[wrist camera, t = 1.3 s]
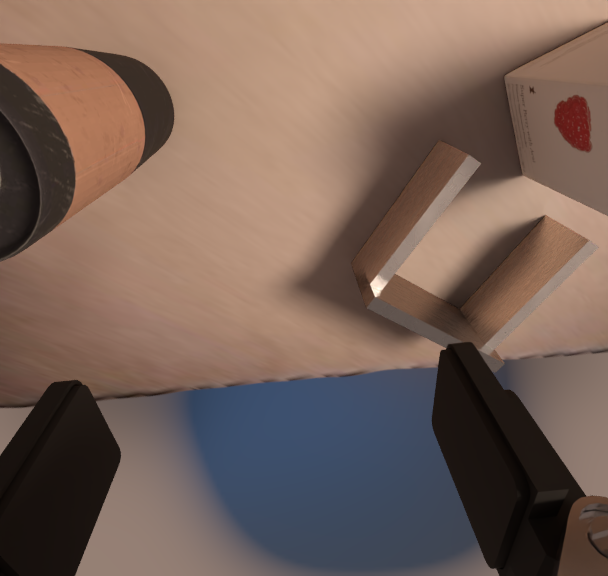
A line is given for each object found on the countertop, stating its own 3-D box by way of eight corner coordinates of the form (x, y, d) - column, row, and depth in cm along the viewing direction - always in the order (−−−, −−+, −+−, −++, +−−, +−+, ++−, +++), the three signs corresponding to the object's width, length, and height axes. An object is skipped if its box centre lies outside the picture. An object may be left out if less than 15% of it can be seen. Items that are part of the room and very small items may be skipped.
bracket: (439, 140, 33) (481, 160, 26) (554, 221, 37) (617, 257, 30) (350, 263, 38) (366, 308, 31) (460, 321, 42) (495, 372, 35)
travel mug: (191, 149, 32) (85, 252, 15) (101, 166, 32) (-106, 285, 15) (158, 41, 28) (-36, 7, 11) (57, 61, 29) (-289, 59, 11)
